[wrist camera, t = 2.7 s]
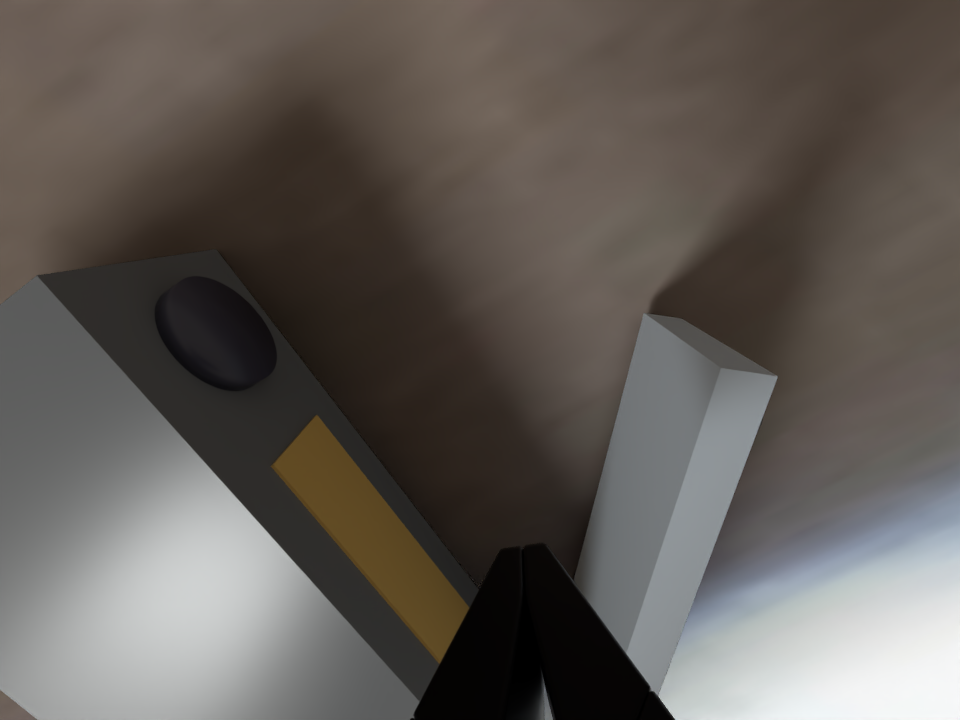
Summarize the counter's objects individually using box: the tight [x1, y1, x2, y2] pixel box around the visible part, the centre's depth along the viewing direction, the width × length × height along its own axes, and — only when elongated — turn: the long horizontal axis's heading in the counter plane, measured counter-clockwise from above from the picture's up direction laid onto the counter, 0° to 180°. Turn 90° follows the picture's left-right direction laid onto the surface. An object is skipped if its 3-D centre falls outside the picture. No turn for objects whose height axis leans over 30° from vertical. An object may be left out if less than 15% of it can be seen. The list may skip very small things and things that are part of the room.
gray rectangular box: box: [0, 249, 479, 720], centre depth 15 cm, size 20×11×6 cm, turn 32°
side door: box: [574, 313, 778, 696], centre depth 14 cm, size 15×2×5 cm, turn 172°
